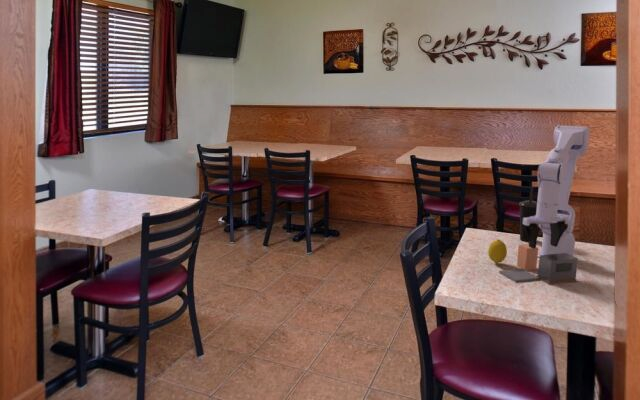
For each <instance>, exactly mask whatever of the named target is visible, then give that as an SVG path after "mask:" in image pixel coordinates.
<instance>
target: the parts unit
mask: <svg viewBox="0 0 640 400" xmlns="http://www.w3.org/2000/svg"><path fill="white" fill-rule="evenodd" d="M538 258H539V259H538V260H539V261H538V269H537V275H536V276H537V277H539V280H540V281H542V282H544V283H546V284H547V285H556V284H558V285H559V284H565V283H566V284H567V283H574V282H577V281H578V279H577V271H578V270H577V269H578V261H579V258H578V257H577V256H576V257H575V256H574V255H573V256H572V255H569V254H567V253H560V254H549V255H540V257H538Z"/></svg>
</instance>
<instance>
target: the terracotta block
mask: <svg viewBox="0 0 640 400" xmlns="http://www.w3.org/2000/svg"><path fill="white" fill-rule="evenodd" d="M538 254H539V247H538V246H536V248H535V249H533V248H531V247H529V243H525V244H524V243H523V244H519V245H518V251H517V261H516V262H517V263H516V267H518V268H519V269H524V270H526V271H531V270H532V271H533V270H537V263H538V262H537V261H538Z"/></svg>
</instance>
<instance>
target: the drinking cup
mask: <svg viewBox="0 0 640 400" xmlns="http://www.w3.org/2000/svg"><path fill="white" fill-rule="evenodd" d="M533 191H534V186H530V195H529V200H523V201H521V202H519V203H518V205H519V241H522V242H526V243H529V242H528V237H527V234H526V231H525V229H524V227H523V218H527V217H531V216H536V210H537V201H535V200H533ZM536 226H537V227H538V224H536Z"/></svg>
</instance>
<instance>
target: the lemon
mask: <svg viewBox="0 0 640 400" xmlns="http://www.w3.org/2000/svg"><path fill="white" fill-rule="evenodd" d="M507 249H508V248H507V246H506V244H505V242H504V241H503V240H501V239H496V240H493V241H492V242H491V243H490V244H489V246H488V251H487V253H488V254H487V255H488V257H489V259H490V260H491V261H492V262H494V264H499V263H501V262H503V261H504V260H505V259H506V257H507V253H508V250H507Z"/></svg>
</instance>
